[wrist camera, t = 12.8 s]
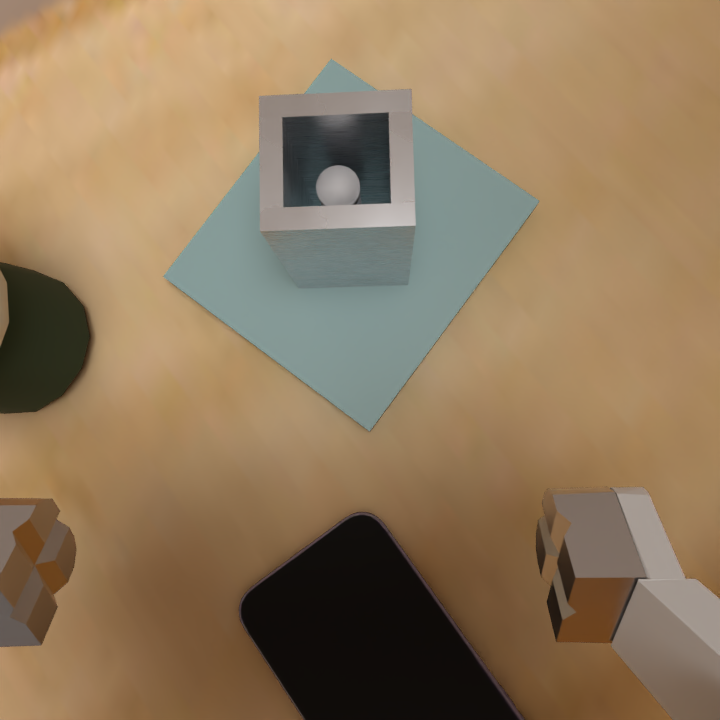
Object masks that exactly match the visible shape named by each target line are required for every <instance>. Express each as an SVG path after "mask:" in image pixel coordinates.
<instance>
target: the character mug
mask: <svg viewBox="0 0 720 720" xmlns="http://www.w3.org/2000/svg"><path fill="white" fill-rule="evenodd" d="M89 337H90V336H89V331H88V326H87V321H86V316H85V311H84V307H83V305H82V304H81V303H80V302H79V301H78V299H77V298H76V297H75V296H74V295H73V293H72V292H71V291H70V290H69V289H68V288H67V286H66V285H65V284H64V283H63V282H60V281H58V280H55V279H53V278H50V277H48V276H46V275H43V274H41V273H38V272H36V271H33V270H30V269H26V268H22V267H18V266H14V265H11V264H6V263H1V262H0V413H4V414H5V413H22V412H36V411H38V410H39V409H41V408H43V407H44V406H46V405H47V404H49V403H50V402H52V401H54V400H55V399H57V398H58V397H60V396H62V394H63V393H64V392H65V390H66V389H67V388H68V386H69V385H70V383H71V382H72V381H73V379H74V378H75V377H76V375H77V374H78V373H79V371H80V370H81V368H82V365H83V361H84V357H85V353H86V349H87V345H88V341H89Z"/></svg>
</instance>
